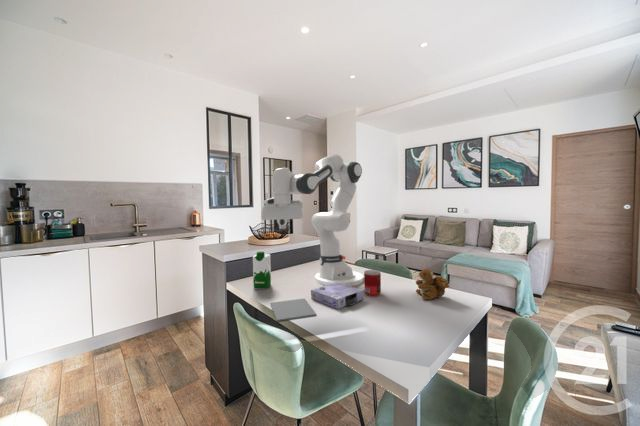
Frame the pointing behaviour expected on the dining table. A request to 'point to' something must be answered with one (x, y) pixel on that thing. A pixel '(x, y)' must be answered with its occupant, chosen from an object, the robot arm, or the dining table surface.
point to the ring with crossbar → (351, 282)
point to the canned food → (372, 282)
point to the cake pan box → (337, 295)
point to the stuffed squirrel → (431, 285)
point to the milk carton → (261, 270)
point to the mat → (292, 309)
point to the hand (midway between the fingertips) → (282, 228)
